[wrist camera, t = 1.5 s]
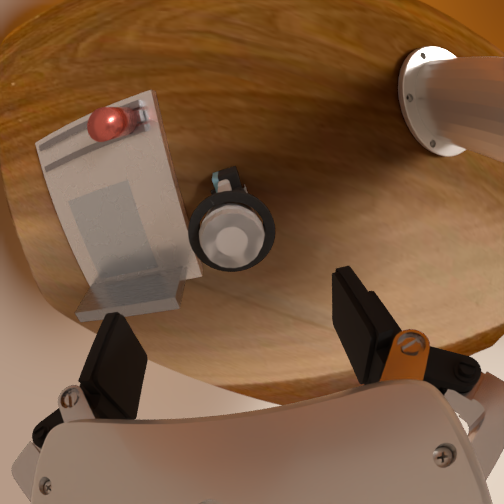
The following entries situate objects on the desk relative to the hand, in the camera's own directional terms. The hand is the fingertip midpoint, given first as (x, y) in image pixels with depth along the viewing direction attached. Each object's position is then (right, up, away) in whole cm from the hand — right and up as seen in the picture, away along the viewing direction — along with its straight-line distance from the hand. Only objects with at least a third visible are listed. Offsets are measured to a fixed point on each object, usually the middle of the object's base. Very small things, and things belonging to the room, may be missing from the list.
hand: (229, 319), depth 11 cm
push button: (-1, +8, +14) cm, 16 cm away
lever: (-9, +14, +7) cm, 18 cm away
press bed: (-12, +8, +13) cm, 19 cm away
